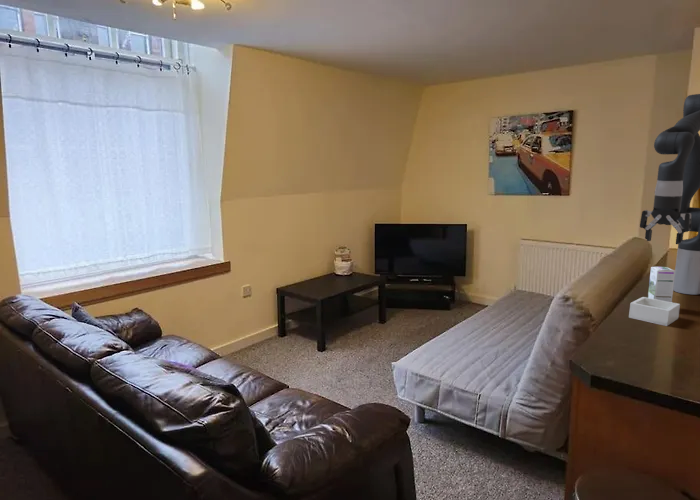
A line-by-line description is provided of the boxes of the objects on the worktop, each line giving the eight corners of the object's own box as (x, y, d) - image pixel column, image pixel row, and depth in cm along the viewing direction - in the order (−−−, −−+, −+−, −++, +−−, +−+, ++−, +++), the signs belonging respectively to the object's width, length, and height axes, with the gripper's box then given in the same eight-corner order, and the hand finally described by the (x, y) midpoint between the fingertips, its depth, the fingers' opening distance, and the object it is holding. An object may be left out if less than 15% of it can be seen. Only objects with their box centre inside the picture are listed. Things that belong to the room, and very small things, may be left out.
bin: (641, 310, 163) (642, 296, 162) (678, 318, 154) (680, 303, 153) (628, 317, 156) (630, 303, 155) (666, 326, 147) (668, 310, 146)
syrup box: (671, 311, 162) (676, 270, 159) (652, 310, 163) (657, 269, 160) (664, 306, 167) (669, 266, 164) (645, 305, 168) (650, 266, 166)
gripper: (697, 194, 152) (691, 243, 155) (648, 192, 162) (643, 238, 166) (690, 196, 147) (684, 246, 150) (640, 194, 158) (635, 241, 161)
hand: (662, 242), depth 158 cm, fingers open, 8 cm apart
